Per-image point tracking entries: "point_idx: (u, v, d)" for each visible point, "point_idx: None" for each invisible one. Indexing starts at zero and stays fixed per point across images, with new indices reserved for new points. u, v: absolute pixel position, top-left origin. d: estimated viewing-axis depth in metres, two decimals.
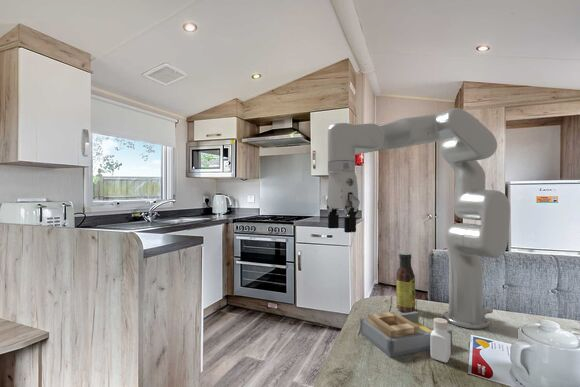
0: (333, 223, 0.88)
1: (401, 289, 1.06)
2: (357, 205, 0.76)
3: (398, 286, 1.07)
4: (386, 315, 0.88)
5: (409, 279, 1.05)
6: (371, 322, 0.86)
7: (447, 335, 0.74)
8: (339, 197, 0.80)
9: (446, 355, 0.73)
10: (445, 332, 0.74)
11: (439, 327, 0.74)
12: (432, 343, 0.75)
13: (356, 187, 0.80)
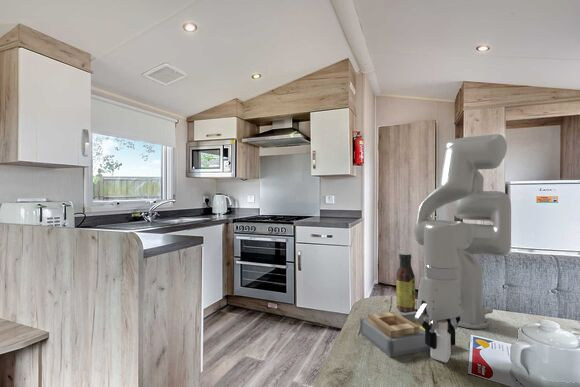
0: None
1: (401, 289, 1.06)
2: None
3: (398, 286, 1.07)
4: (386, 315, 0.88)
5: (409, 279, 1.05)
6: (371, 322, 0.86)
7: (447, 335, 0.74)
8: (457, 305, 0.75)
9: (446, 355, 0.73)
10: (445, 332, 0.74)
11: (440, 327, 0.74)
12: None
13: None
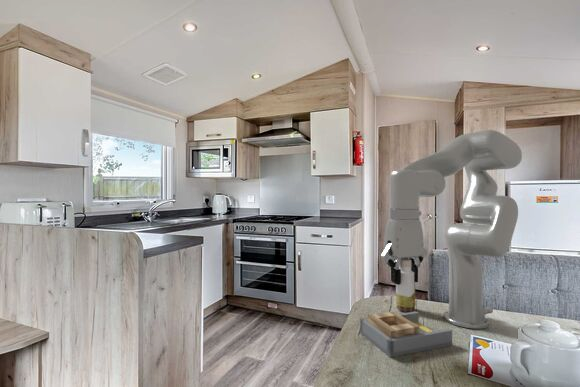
0: None
1: None
2: None
3: None
4: (386, 315, 0.88)
5: None
6: (371, 322, 0.86)
7: (411, 272, 0.81)
8: (419, 245, 0.81)
9: (409, 290, 0.79)
10: (409, 269, 0.81)
11: (404, 265, 0.81)
12: None
13: None
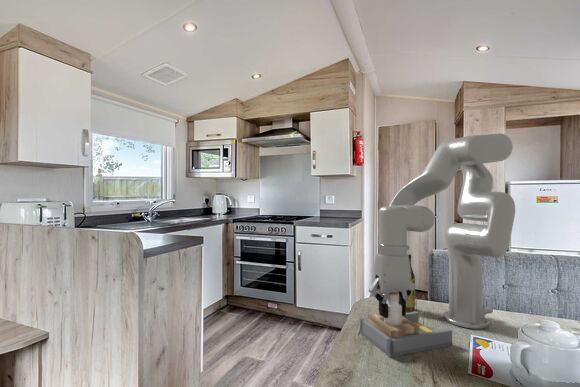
0: None
1: None
2: None
3: None
4: None
5: None
6: (371, 322, 0.86)
7: (398, 306, 0.83)
8: (407, 279, 0.83)
9: (396, 323, 0.82)
10: (396, 303, 0.83)
11: (391, 299, 0.83)
12: None
13: None
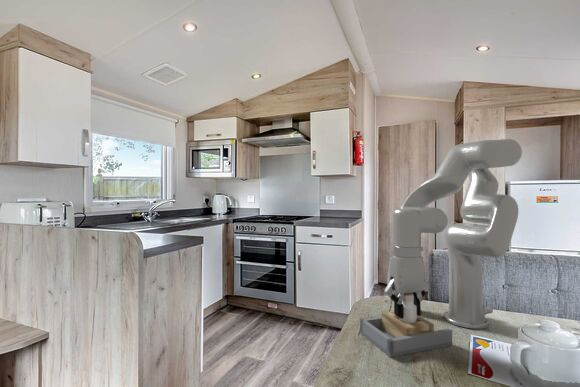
0: None
1: None
2: None
3: None
4: None
5: None
6: (385, 320, 0.88)
7: (413, 306, 0.85)
8: (421, 280, 0.85)
9: None
10: (411, 304, 0.85)
11: (406, 300, 0.85)
12: None
13: None
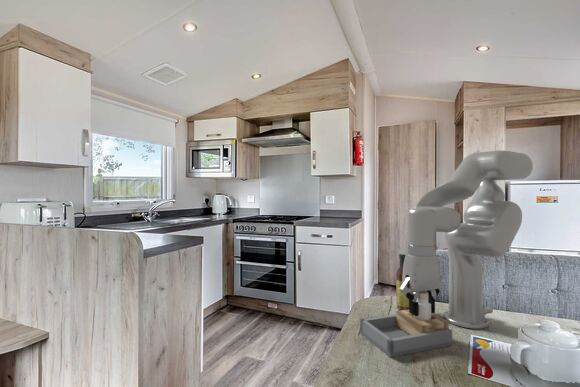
0: None
1: None
2: None
3: (398, 286, 1.07)
4: None
5: None
6: (400, 318, 0.90)
7: (428, 304, 0.86)
8: (436, 279, 0.87)
9: None
10: (426, 302, 0.86)
11: (421, 297, 0.86)
12: None
13: None
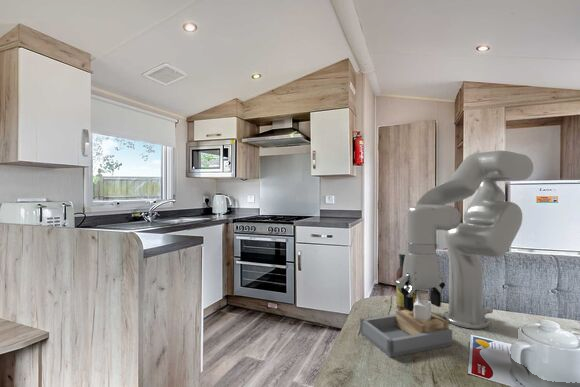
0: None
1: None
2: None
3: None
4: None
5: None
6: (400, 318, 0.90)
7: (428, 304, 0.86)
8: (436, 277, 0.87)
9: None
10: (426, 302, 0.86)
11: (421, 298, 0.86)
12: (415, 312, 0.87)
13: None
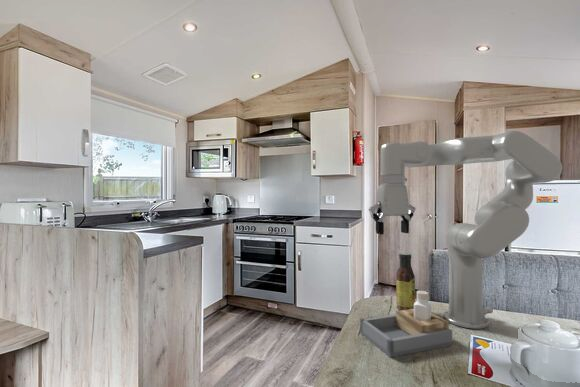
0: None
1: (401, 289, 1.06)
2: None
3: (398, 286, 1.07)
4: None
5: (409, 279, 1.05)
6: (400, 318, 0.90)
7: (428, 304, 0.86)
8: (405, 205, 0.98)
9: None
10: (426, 302, 0.86)
11: (421, 298, 0.86)
12: (415, 312, 0.87)
13: None
